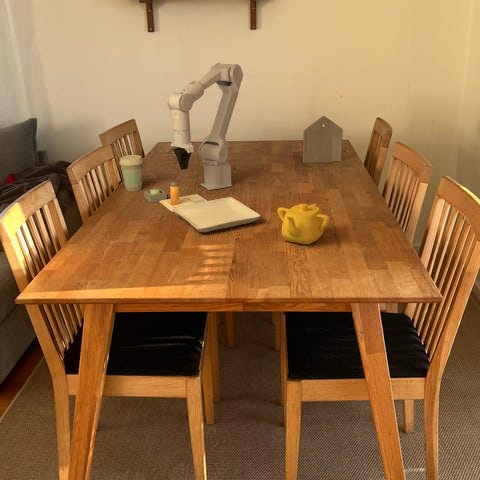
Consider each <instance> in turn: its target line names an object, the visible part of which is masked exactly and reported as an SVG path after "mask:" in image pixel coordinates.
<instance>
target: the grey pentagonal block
mask: <svg viewBox="0 0 480 480" xmlns="http://www.w3.org/2000/svg"><path fill="white" fill-rule="evenodd" d="M343 133H344V130H343V128H342V127H341V126H339V125H338V124H337V123H335V122H334V121H332V120H331V119H330V118H328V117H327V116H326V115H322V116H321V117H319V118H318V119H317V120H315V121H314V122H313V123H312V124H309V126H307V127H306V128H305V129H303V137H302V138H303V141H302V142H303V143H302V146H303V147H302V148H303V149H302V163H303V164H311V163H312V164H313V163H315V162H319V163H334V162H333V161H341V162H342V156H343V154H342V153H343Z"/></svg>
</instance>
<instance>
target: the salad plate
mask: <svg viewBox="0 0 480 480" xmlns="http://www.w3.org/2000/svg"><path fill="white" fill-rule="evenodd" d="M173 211H174V212H173V213H175V214H176V215H177V216H179V218H182V220H184V221H186V222H187V223H188V224H189V225H191V226H192V227H193V228H194V229H195V230H196V231H198V232H200V233H209V232H213V231H214V230H215V231H219V229H220V230H224V229H228V228H229V227H230V228H233V227H238V225H239V226H243V225H248V224H250V223H253V222H255V221H257V220H259V219H260V217H261V215H260V214H259V212H256V211H254V210H253V209H251V208H250V207H248V206H247V205H245V204H244V203H242V202H241V201H239V200H237V199H235V198H234V197H232V196H228V197H223V198H217V199H212V200H211V199H210V200H207V201H205V202H200V203H196V204H191V205H186V206H181V207H176V208H173ZM242 224H243V225H242Z"/></svg>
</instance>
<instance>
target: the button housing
mask: <svg viewBox="0 0 480 480" xmlns="http://www.w3.org/2000/svg"><path fill="white" fill-rule="evenodd" d="M159 189H160V193H159V194H153V195H151V194H150V189H149V190H143V195H144V199H145V200H147V202H148V203H156V202H160V201H161V200H167V198H168V196H167V192H165V191H164V190H163V189H161V188H159Z"/></svg>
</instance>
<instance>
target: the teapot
mask: <svg viewBox="0 0 480 480" xmlns="http://www.w3.org/2000/svg"><path fill="white" fill-rule="evenodd" d="M284 212H285V214H284ZM277 215H278V217H279V218H280V220H281V221H282V225H281V236H282V238H283V240H285V241H287V242H293V243H296V244H302V245H305V244H309V245H311V244H312V243H314V242H316V241H318V240H319V239H320V238H321V237H322V235H323V233H324V231H325V228H326V227H327V226H328V225H329V223H330V220H331V217H330V216H329V215H327V214H322V210H321V209H320V207H318V204H316V203H312V204H310V205H308V204H307V203H299V204H297V205H294V206H292V207H291V208H288V207H278V208H277Z"/></svg>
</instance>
